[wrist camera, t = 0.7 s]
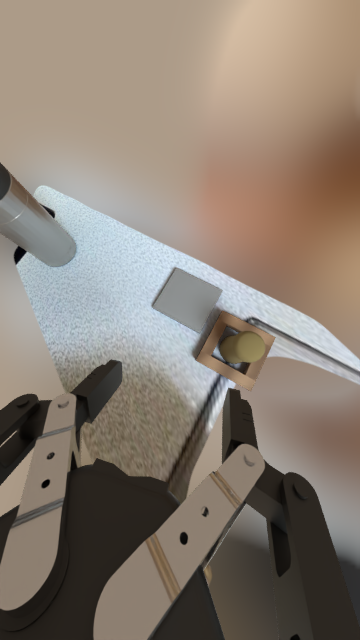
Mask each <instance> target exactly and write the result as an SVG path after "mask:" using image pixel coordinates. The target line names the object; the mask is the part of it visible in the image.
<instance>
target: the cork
mask: <svg viewBox="0 0 360 640" xmlns="http://www.w3.org/2000/svg"><path fill="white" fill-rule="evenodd" d="M264 352H265V343H264V340H263V339H262V337H261V336H260V335H259V334H257V333H255V332H253V331H242V332H240V333H238V334H237V335H231V336H227V337H226V338H224V339H223V340H222V342H221V344H220V354H221V356H222V357H223V359H224V360H225V361H227V362H229V363H232V364H237V363H240V362H249V363H252V362H256V361H257V360H259V359H260V358H261V357H262V356H263V355H264Z"/></svg>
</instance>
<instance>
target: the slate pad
mask: <svg viewBox="0 0 360 640" xmlns="http://www.w3.org/2000/svg"><path fill="white" fill-rule="evenodd" d="M222 291H223V290H221V289H219V288H217V287H215V286H213V285H211V284H208V283H206V282H204V281H202V280H200V279H198V278H196V277H194V276H192V275H190V274H188V273H186V272H184V271H182V270H180V269H178V268H176V269H175V271H174V273H173V274H172V276H171V278H170V279H169V281H168V283H167V284H166V286H165V288H164V289H163V291H162V292H161V294H160V296H159V297H158V299H157V301H156V302H155V304H154V306H153V309H155V310H157V311H159V312H161V313H163V314H164V315H166V316H168V317H170V318H172V319H174V320H176V321H177V322H179V323H181V324H183V325H185V326H187V327H188V328H190V329H192V330H194V331H196V332H198V333H200V332H201V330H202V328H203V326H204V324H205V323H206V321H207V319H208V317H209V315H210V313H211V311H212V310H213V308H214V306H215V304H216V302H217V300H218V298H219V297H220V295H221V293H222Z"/></svg>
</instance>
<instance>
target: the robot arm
mask: <svg viewBox="0 0 360 640" xmlns="http://www.w3.org/2000/svg"><path fill="white" fill-rule="evenodd" d="M0 233H1V234H2V235H4V236H5V237H7V238H8V239H10V240H11V241H13V242H14V243H16V244H17V245H18V246H20V247H21V248H23V249H24V250H26V251H27V252H29V253H30V254H32V255H33V256H35V257H36V258H38V259H39V260H41V261H42V262H44V263H45V264H47V265H49V266H52V267H59V266H63V265H65V264H67V263H68V262H69V261H71V259H72V258H73V257H74V255H75V253H76V243H75V241H74V240H73V238H72V237H71V236H70V235H69V234H68V233H67V232H66V231H65V230H64V229H63V228H62V227H61V226H60V225H59V224H58V223H57V222H56V220H55V219H54V218H53V217H52V216H51V215H50V214H49V213H48V212H47V211H46V210H45V209H44V208H43V207H42V206H41V205H40V204H39V203H38V202H37V201H36V199H35V198H34V197H33V196H32V195H31V194H30V193H29V192H28V191H27V190H26V189H25V188H24V187H23V186H22V185H21V184H20V183H19V182H18V181H17V180H16V179H15V178H14V177H13V176H12V174H11V173H10V172H9V171H8V170H7V169H6V168H5V167H4V166H3V165H2V164H1V163H0ZM121 382H122V363H121V362H120V361H116V360H112V359H111V360H110V361H109V362H108V363H107V364H106V365H101V366H99V367H97V368H96V369H94V370H93V371H92V372H91V374H89V375H88V376H87V378H85V379H84V380H83V381H82V382H81V383H80V384H79V385H78V386H77V387H76V388H75V389H74V390H73V391H72V392H71V393H68V394H62V395H60V396H58V397H56V398H55V399H54V400H41V401H39V400H38V397H37V395H35V394H26V395H22V396H20V397H18V398H16V399H14V400H13V401H12V402H10V403H9V404H8V405H7V406H6V407H4V408H3V409H2V410H0V446H1V444H2V443H3V442H4V441H5V440H6V439H7V438H9V436H11V435H12V434H13V433H14V432H15V431H17V432H16V433H15V434H14V435H13V436H12V437H11V438H10V439H9V440H8V441H7V442H5V444H3V445H2V446H1V447H0V485H1V484H2V483H3V482H4V481H5V480H6V478H7V477H8V476H9V475H10V474H11V473H12V472H13V470H14V469H15V468H16V467H17V466H18V465H19V463H20V462H21V461H22V460H23V459H24V458H25V457H26V456H27V454H28V453H29V452H30V451H31V450H32V449H33V448H34V447H35V448H34V452H33V456H32V460H31V463H30V468H29V471H28V475H27V479H26V483H25V487H24V490H23V494H22V498H21V502H20V505H18V506H16V507H15V508H13V509H12V510H10V511H9V512H7V513H5V514H4V515H2V516H1V517H0V640H225V638H224V635H223V632H222V629H221V625H220V622H219V619H218V616H217V613H216V610H215V607H214V603H213V600H212V597H211V594H210V590H209V587H208V584H207V581H206V578H205V574H204V571H203V570H204V569H205V567H206V566H207V564H208V563H209V561H210V560H211V558H212V557H213V555H214V553H215V552H216V550H217V549H218V547H219V546H220V544H221V542H222V541H223V539H224V537H225V536H226V534H227V532H228V531H229V529H230V528H231V526H232V525H233V523H234V521H235V520H236V518H237V517H238V515H239V514H240V512H241V511H242V509H243V508H244V506H245V505H246V503H247V504H248V505H250V506H251V507H252V508H254V509H255V510H256V511H258V512H259V513H260V514H262V515H263V516H264V517H265V518H266V521H267V531H268V540H269V549H270V558H271V568H272V578H273V587H274V596H275V606H276V615H277V624H278V634H279V640H360V627H359V624H358V621H357V618H356V615H355V611H354V608H353V605H352V602H351V599H350V596H349V593H348V590H347V586H346V583H345V580H344V577H343V575H342V571H341V568H340V565H339V561H338V558H337V555H336V552H335V549H334V546H333V543H332V540H331V537H330V534H329V530H328V528H327V524H326V521H325V518H324V515H323V512H322V509H321V505H320V502H319V499H318V496H317V494H316V492H315V490H314V489H313V487H312V486H311V484H310V483H309V482H308V481H307V480H306V479H305V478H303V477H302V476H300V475H299V474H296V473H293V472H289V473H287V474H285V475H284V474H282V473H281V472H279V471H278V470H276V469H275V468H273V467H272V466H270V465H269V464H268V463H267V462H266V461H265V460H264V459H263V457H262V455H261V454H260V452H259V450H258V446H257V440H256V434H255V427H254V423H253V417H252V409H251V406H250V405H249V403H248V402H247V400H243V399H241V396H240V391H239V390H236V389H232V388H228V391H227V394H226V398H225V401H224V406H223V427H222V429H223V430H222V432H223V433H222V465H221V466H220V467H219V469H218V470H217V471H216V472H211V473H210V474H209V475H208V476H207V477H206V478H205V479H204V480H203V481H202V482H201V484H200V485H199V486H198V487H197V488H196V489H195V490H194V491H193V492H192V494H190V495H189V497H188V498H187V499H186V500H185V501H184V502H183V503H182V504H180V502H179V501H178V500H177V498H176V497H175V496H174V495H173V494H172V493H171V492H170V491H169V490H168V485H169V483H167V482H164V481H161V480H158V479H155V478H152V477H136V476H128V475H127V474H125V473H124V472H123V471H122V470H120V469H119V468H118V467H117V466H115V465H114V464H112V463H109V462H106V461H103V460H100V459H98V458H97V459H96V460H95V462H94V464H93V465H85V466H82V467H81V438H82V425H83V424H84V423H85V422H87V423H92V422H93V421H94V419H95V418H96V417H97V415H98V414H99V413H100V411H101V410H102V409H103V407H104V406H105V404H106V403H107V402H108V400H109V399H110V398H111V396H112V395H113V394H114V392H115V391H116V390H117V388H118V387H119V386H120V384H121Z"/></svg>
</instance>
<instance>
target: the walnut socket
mask: <svg viewBox="0 0 360 640" xmlns="http://www.w3.org/2000/svg"><path fill="white" fill-rule="evenodd" d="M226 326H227V327H229V328H231V329H233V330H235V331H236V332H238V333H240V332H242V331H253V332H255V333H257V334H259V335H260V336H261V337H262V339H263V340H264V343H265V352H264V355H263V356H262V357H261V358H260V359H259V360H257V361H256V362H252V363H249V362H248V363H247V365H246V368H245V370H244V372H243V374H242V373H240V372H239V371H237V370H235V369H233V368H231V367H230V366H228V365H226V364H224V363H222V362H221V361H219V360H217V359H215V358H213V357H212V356H211V355H212V353H213V351H214V349H215V347H216V345H217V343H218V341H219V340H220V338H221V336H222V334H223V332H224V330H225V328H226ZM275 338H276V337H274V336H272V335H270V334H268V333H266V332H264V331H262V330H260V329H258V328H256V327H254V326H252V325H250V324H248V323H246V322H244V321H242V320H241V319H239V318H237V317H235V316H233V315H231V314H229V313H227V312H225V311H222V312H221V314H220V316H219V317H218V319H217V321H216V323H215V325H214V327H213V329H212V331H211V333H210V334H209V336H208V338H207V340H206V342H205V344H204V346H203V348H202V350H201V351H200V353H199V355H198V357H197V359H196V361H198V362H200V363H201V364H203V365H205V366H207V367H208V368H210V369H212V370H214V371H216V372H217V373H219V374H221V375H223V376H224V377H226V378H228V379H230V380H231V381H233V382H235V383H237V384H239V385H240V386H242V387H244V388H246V389H247V390H249V391H251V390H252V388H253V386H254V384H255V381H256V379H257V377H258V374H259V372H260V370H261V368H262V366H263V364H264V362H265V359H266V357H267V355H268V353H269V351H270V349H271V346H272V344H273V342H274V340H275Z"/></svg>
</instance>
